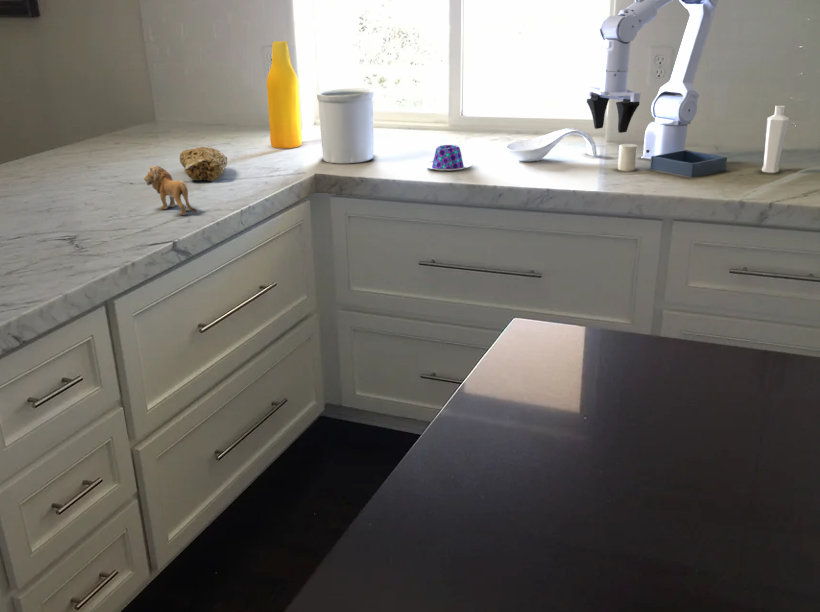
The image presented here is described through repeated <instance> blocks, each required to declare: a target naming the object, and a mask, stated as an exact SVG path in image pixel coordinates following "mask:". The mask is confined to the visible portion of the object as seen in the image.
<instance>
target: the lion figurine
mask: <svg viewBox="0 0 820 612" xmlns="http://www.w3.org/2000/svg"><path fill="white" fill-rule="evenodd" d="M143 180H144V182H146V185H147V186H151V187H152V188H153V189H154V190H156V193H157V194H159V196H160V200H161V203H162V205H161V206H160V210H166V209H168V203H167V196H169V207H170V208H173V207H176V204H177V205H178V207H179V208H180V211H179V216H184V215H186V214H187V213H186V211H187V212H188V211H191V212H192V213H198V210H196V209H195V208H193V207H192V205H190V202H189V189H188V187H187V184H186V183H185V182H184V181H183V180H174V179H173V177H172V175H171V174H170V172H168V171H167V170H166V169H165V168H162V167H161V166H158V165H153V166H150V167H149V172H147V174H146V175H145V177H144V178H143ZM181 197H183V200H184V202H185V204H184V203H183V202H182V198H181Z"/></svg>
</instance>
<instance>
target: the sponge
mask: <svg viewBox="0 0 820 612" xmlns="http://www.w3.org/2000/svg"><path fill="white" fill-rule="evenodd" d="M179 163H180V164H181V165H182V167H183V168H184V172H185V174H186V176H187V177H188V178H190V179H191V180H195V181H208V182H213V181H216V180H218V179H219V178H221V176H222V175H223V174H224V173H225V168H226V167H227V165H228V157H227V156H226V155H225V154H224V153H223V152H221V151H220V150H219V149H216V148H213V147H206V146H200V147H195V148H191V149H185V150H183V151H181V153H180V154H179Z"/></svg>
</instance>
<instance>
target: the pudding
mask: <svg viewBox="0 0 820 612" xmlns="http://www.w3.org/2000/svg"><path fill="white" fill-rule="evenodd" d="M472 165H473V163H471V162H470V161H466V160H463V155H462V151H461V147H460V146H459V145H455V144H443V145H438V146H437V147H436V148H435V152H434V156H433V160H432V161H428V162H425V163H424V164H423V166H424V167H425V168H427V169H430V170H435V171H441V172H453V171H454V172H455V171H461V170H463V169H467V168H469V167H471V166H472Z"/></svg>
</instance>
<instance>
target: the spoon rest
mask: <svg viewBox="0 0 820 612" xmlns="http://www.w3.org/2000/svg"><path fill="white" fill-rule="evenodd" d="M571 135H577V136H580V137H581V138H583V139H584V140H585V142H586V152H587V154H588V155H589V156H592V157H596V156H597V150H598V149H597V145H596V142H595V141H594V139H593V137H592V136H591V135H590V134H589V133H587V132H585V131H583V130H581V129H578V128H573V127H567V128H562V129H559V130H556V131H553V132H550V133H547V134H544V135H540V136H537V137H533V138H529V139H523V140H519V141H513V142H510V143H508V144H506V145H505V146H504V149H505V151H506V153H507V154H508V155H509V156H510V157H511V158H512V159H514V160H517V161H519V162H529V163H531V162H539V161H541V160H543V158H544V157H546V156H547V155H548V154H549V153H550V152H551V150H552V149H554V147H556V145H557V144H558V143H559V142H561V140H563V139H565V138H566V137H568V136H571Z"/></svg>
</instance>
